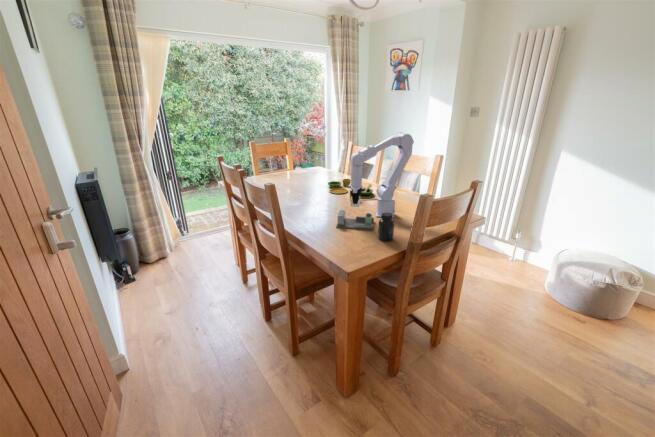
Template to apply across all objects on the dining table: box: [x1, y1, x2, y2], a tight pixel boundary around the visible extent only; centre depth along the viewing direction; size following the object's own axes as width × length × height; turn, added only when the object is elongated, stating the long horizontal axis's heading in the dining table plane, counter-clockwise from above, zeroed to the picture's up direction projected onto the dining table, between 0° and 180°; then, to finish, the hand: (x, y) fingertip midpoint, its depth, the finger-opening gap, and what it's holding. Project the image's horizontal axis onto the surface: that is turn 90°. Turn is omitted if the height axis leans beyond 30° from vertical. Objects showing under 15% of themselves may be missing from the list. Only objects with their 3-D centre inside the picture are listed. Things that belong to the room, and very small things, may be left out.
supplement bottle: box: [377, 212, 395, 243], centre depth 132 cm, size 7×7×12 cm
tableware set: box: [327, 178, 378, 202], centre depth 200 cm, size 41×28×6 cm
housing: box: [350, 197, 361, 208], centre depth 156 cm, size 4×4×5 cm
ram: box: [364, 212, 373, 224], centre depth 147 cm, size 3×7×5 cm, turn 170°
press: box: [335, 209, 375, 231], centre depth 148 cm, size 18×11×6 cm, turn 80°
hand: (355, 202), depth 156 cm, fingers closed on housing, 4 cm apart
